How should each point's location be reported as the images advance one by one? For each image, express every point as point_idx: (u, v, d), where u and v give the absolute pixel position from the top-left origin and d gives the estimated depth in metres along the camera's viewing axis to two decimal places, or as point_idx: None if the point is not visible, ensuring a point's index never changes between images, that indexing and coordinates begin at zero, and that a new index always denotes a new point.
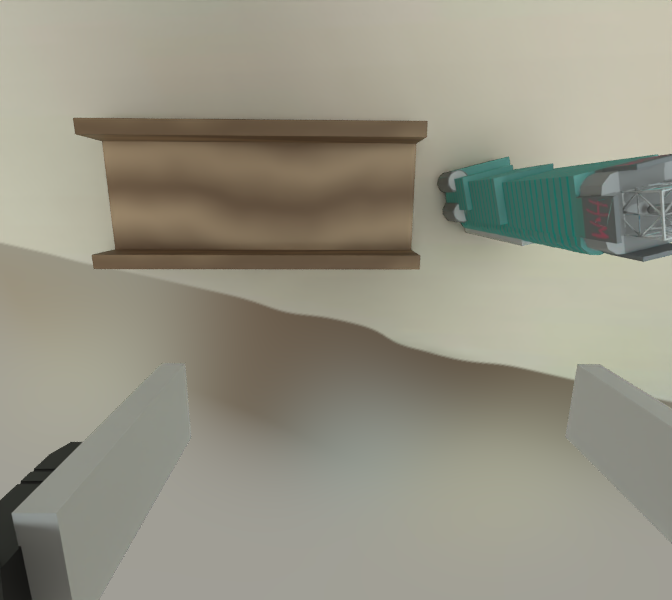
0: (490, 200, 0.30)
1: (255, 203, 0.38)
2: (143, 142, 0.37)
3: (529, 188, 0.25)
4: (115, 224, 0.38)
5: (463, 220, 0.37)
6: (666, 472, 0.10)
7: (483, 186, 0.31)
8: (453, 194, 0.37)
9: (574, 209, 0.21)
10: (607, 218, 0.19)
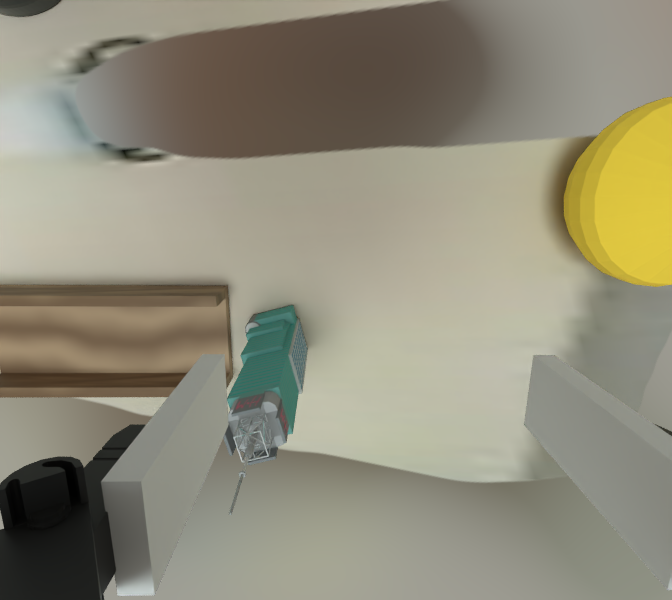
0: None
1: (106, 340, 0.50)
2: None
3: None
4: None
5: None
6: (601, 452, 0.11)
7: None
8: None
9: None
10: None
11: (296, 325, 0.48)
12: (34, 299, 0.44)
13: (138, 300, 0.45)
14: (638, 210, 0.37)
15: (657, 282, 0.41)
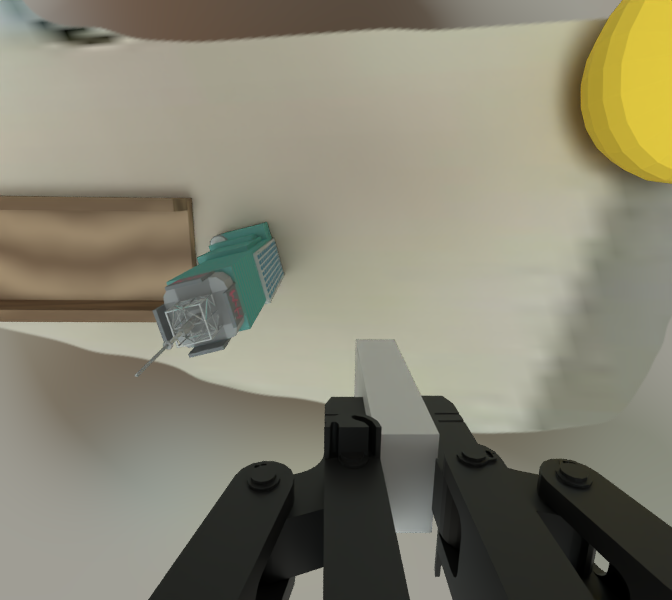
0: None
1: (50, 260, 0.43)
2: None
3: None
4: None
5: None
6: None
7: None
8: None
9: None
10: None
11: (269, 241, 0.42)
12: None
13: (81, 203, 0.38)
14: None
15: None
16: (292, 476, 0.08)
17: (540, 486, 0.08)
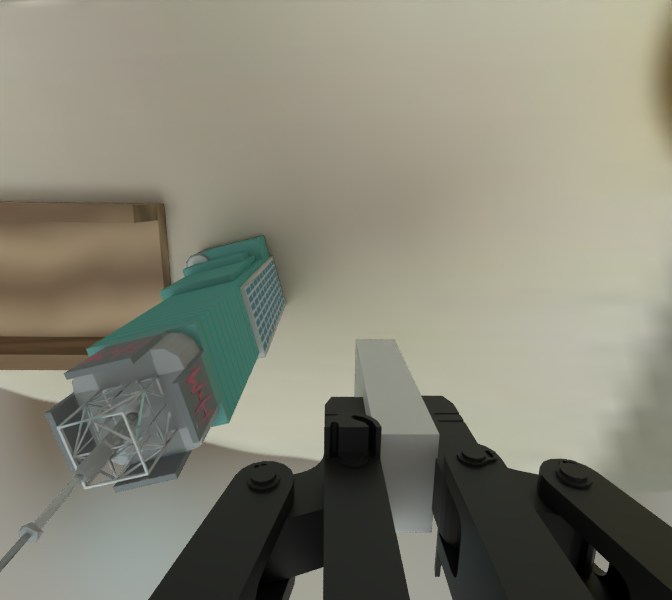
0: None
1: None
2: None
3: None
4: None
5: None
6: None
7: None
8: None
9: None
10: None
11: (266, 261, 0.31)
12: None
13: (6, 210, 0.28)
14: None
15: None
16: (292, 476, 0.08)
17: (540, 486, 0.08)
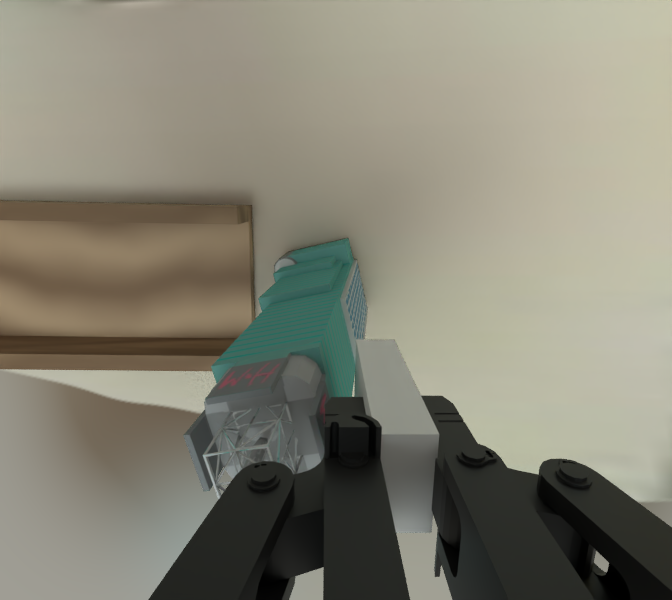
0: None
1: (66, 285, 0.33)
2: None
3: None
4: None
5: None
6: None
7: None
8: None
9: None
10: None
11: (353, 266, 0.31)
12: None
13: (112, 211, 0.28)
14: None
15: None
16: (292, 476, 0.08)
17: (540, 486, 0.08)
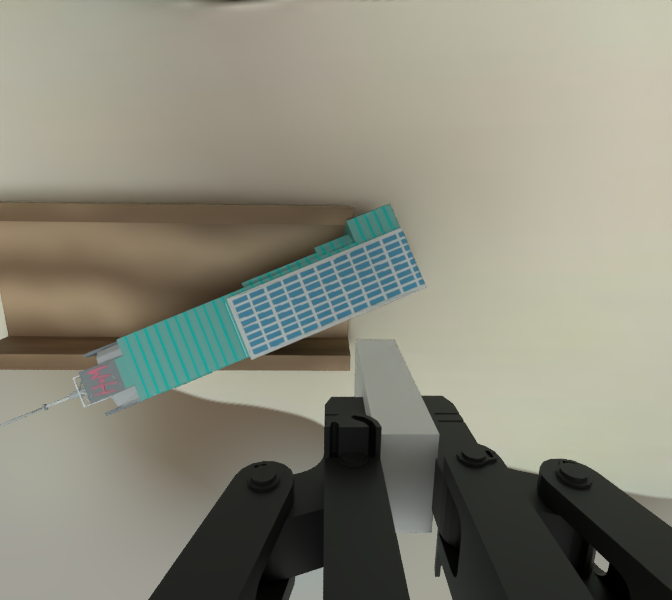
0: None
1: (167, 286, 0.33)
2: None
3: None
4: (7, 309, 0.33)
5: None
6: None
7: None
8: None
9: None
10: None
11: (359, 244, 0.27)
12: (64, 210, 0.28)
13: (230, 213, 0.28)
14: None
15: None
16: (292, 476, 0.08)
17: (540, 486, 0.08)
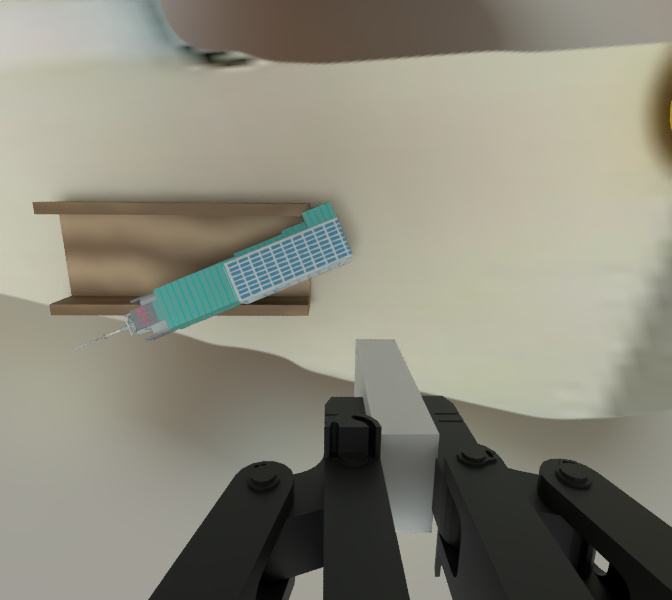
0: None
1: (182, 260, 0.48)
2: None
3: None
4: (71, 276, 0.48)
5: None
6: None
7: None
8: None
9: None
10: None
11: (310, 228, 0.41)
12: (117, 207, 0.42)
13: (225, 208, 0.42)
14: None
15: None
16: (292, 476, 0.08)
17: (540, 486, 0.08)
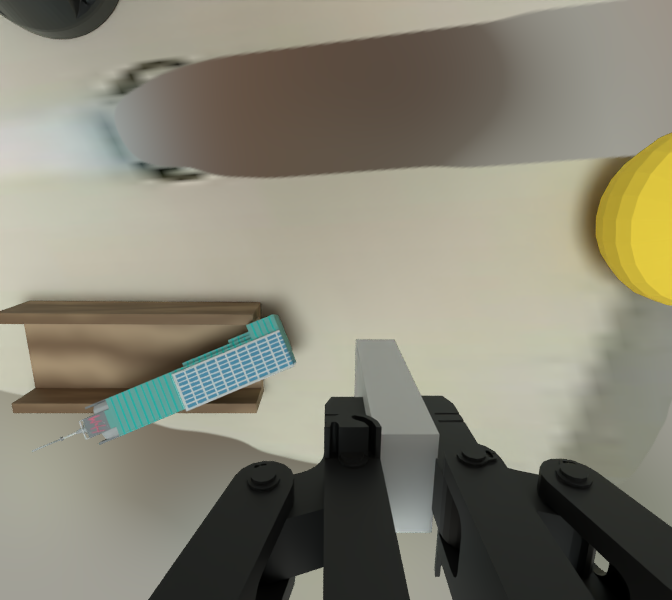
0: None
1: (140, 355, 0.50)
2: None
3: None
4: (34, 370, 0.51)
5: None
6: None
7: None
8: None
9: None
10: None
11: (253, 340, 0.44)
12: (73, 317, 0.45)
13: (176, 318, 0.45)
14: None
15: None
16: (292, 476, 0.08)
17: (540, 486, 0.08)
